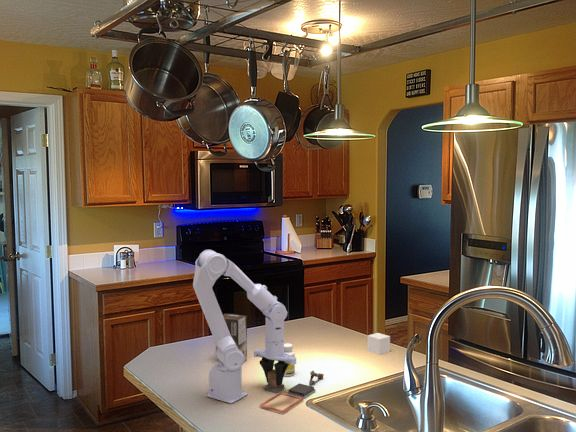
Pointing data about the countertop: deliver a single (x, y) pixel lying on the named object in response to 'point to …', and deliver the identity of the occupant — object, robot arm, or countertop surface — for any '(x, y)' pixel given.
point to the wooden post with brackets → (320, 376)
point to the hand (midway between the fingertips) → (274, 383)
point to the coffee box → (238, 331)
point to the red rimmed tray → (281, 403)
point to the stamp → (273, 383)
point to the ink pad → (301, 391)
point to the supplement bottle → (288, 350)
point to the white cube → (378, 343)
